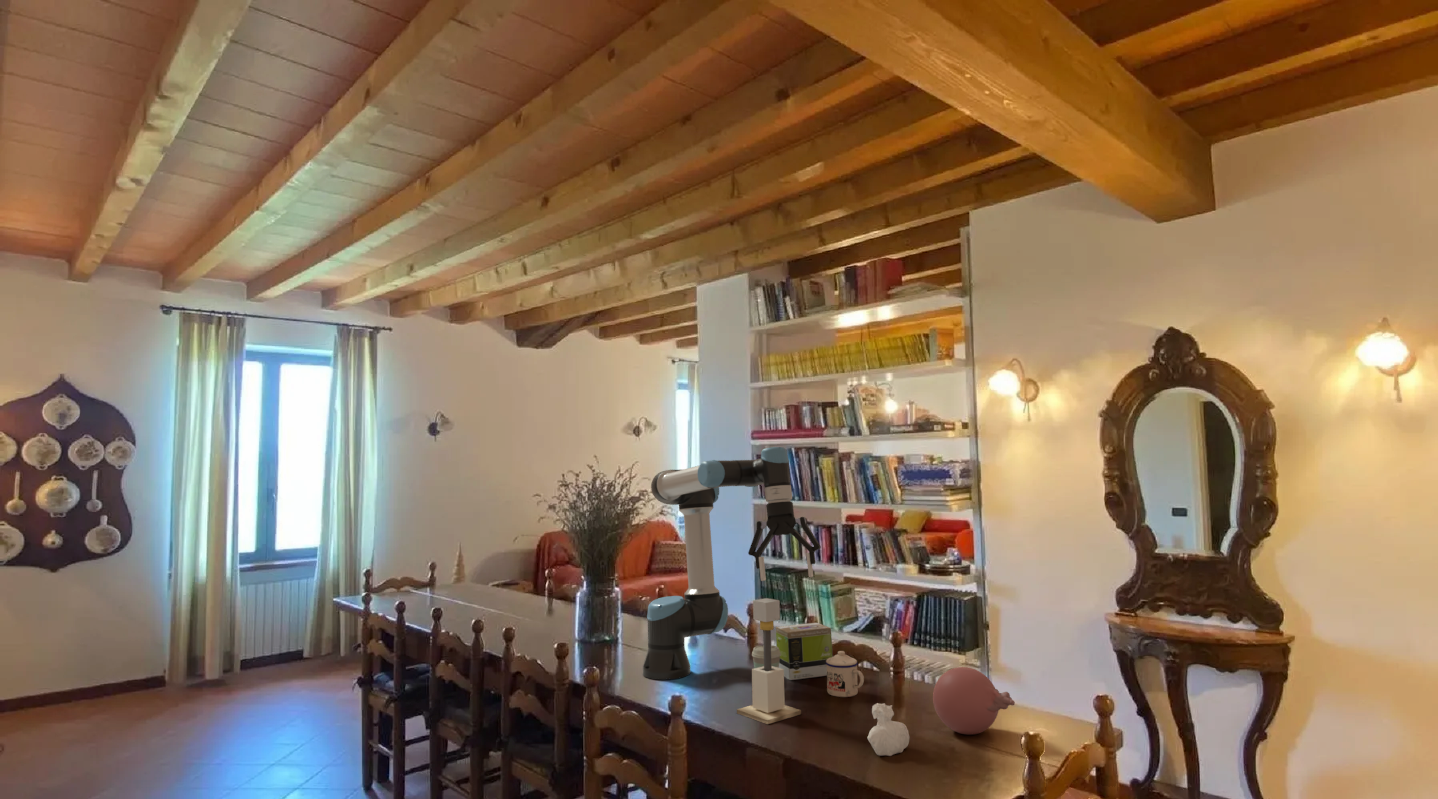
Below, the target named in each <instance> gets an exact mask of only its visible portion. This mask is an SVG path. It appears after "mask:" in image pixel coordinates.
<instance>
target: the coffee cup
mask: <svg viewBox="0 0 1438 799" xmlns="http://www.w3.org/2000/svg"><path fill="white" fill-rule="evenodd" d="M751 656H752V660H753V669H754V668H758V667H763V666H764V646H763V645H756V646H755V647H753V650H752V652H751ZM780 656H781V654H780V651H779V648H778V647H777V645H771V666H773V667H777V668H779V660H780Z"/></svg>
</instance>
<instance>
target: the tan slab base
mask: <svg viewBox="0 0 1438 799" xmlns="http://www.w3.org/2000/svg"><path fill="white" fill-rule="evenodd" d="M736 714H737V715H741V716H743V717H746V718H748V719H752V720H755V721H757V722H760V723H763V724H766V725H769V724H773V723H776V722H780V721H783V720H786V719H787V720H788V719H790V718H793V717H796V716H800V715H802V710H801V709H798V708H795V707H792V706H789V705H786V704H785V708H783V709H780V710H776V711H773V712H770V713H767V712H764V711H761V710H758V709H755V708H753V704H751V705H748V706H744V707H741V708H737V709H736Z"/></svg>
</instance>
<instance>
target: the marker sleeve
mask: <svg viewBox="0 0 1438 799" xmlns="http://www.w3.org/2000/svg"><path fill="white" fill-rule="evenodd" d="M771 667H772V670H771V671H765V670H764V666H763V667H758V668H754V667H753V668H751V685H752V686H751V689H752V694H751V695H752V696H751V697H752V705H753V708H755V709H758V710H761V711H764V712H767V713H770V712H773V711H776V710H780V709H783V708H785V705H786V704H785V677H784V669H781V668H777V667H773V666H771Z"/></svg>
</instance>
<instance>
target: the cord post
mask: <svg viewBox="0 0 1438 799" xmlns="http://www.w3.org/2000/svg"><path fill="white" fill-rule="evenodd" d="M780 602H781V601H780V600H779V599H774V598H769V597H765V598H761V599H753V601H752V610H753V612H752V614H753V615H752V616H753V620H755V621H759V629H760V630H761V631H762V634H763V635H762V638H763V640H762V641H763V642H762V643H763V646H764V670H765V671H771V670H772V667H771V646H772V637H771V634H772V633H771V631H774V628H775V627H774V626H775V625H774V621H779V620H781V612H780V611H781V610H780V609H781V608H780V606H781V605H780Z"/></svg>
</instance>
